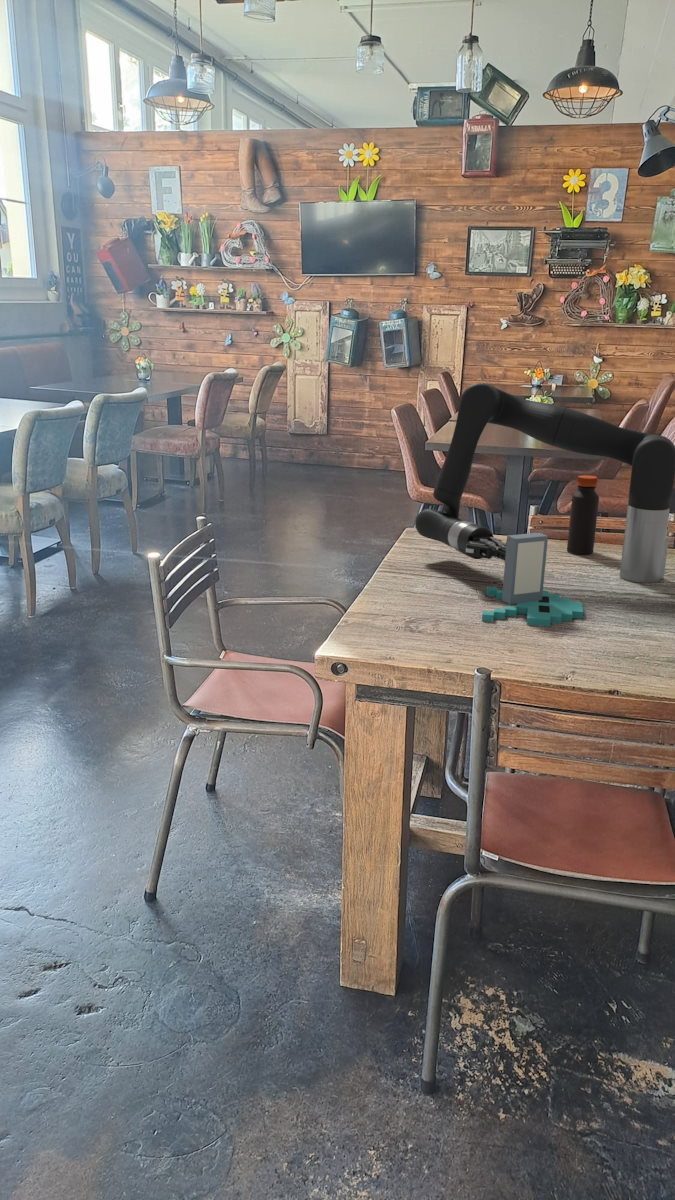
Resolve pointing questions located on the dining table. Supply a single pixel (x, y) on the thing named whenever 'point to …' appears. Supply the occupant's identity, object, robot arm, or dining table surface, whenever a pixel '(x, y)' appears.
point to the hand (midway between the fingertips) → (511, 557)
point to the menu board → (524, 567)
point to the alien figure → (537, 609)
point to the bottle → (583, 516)
